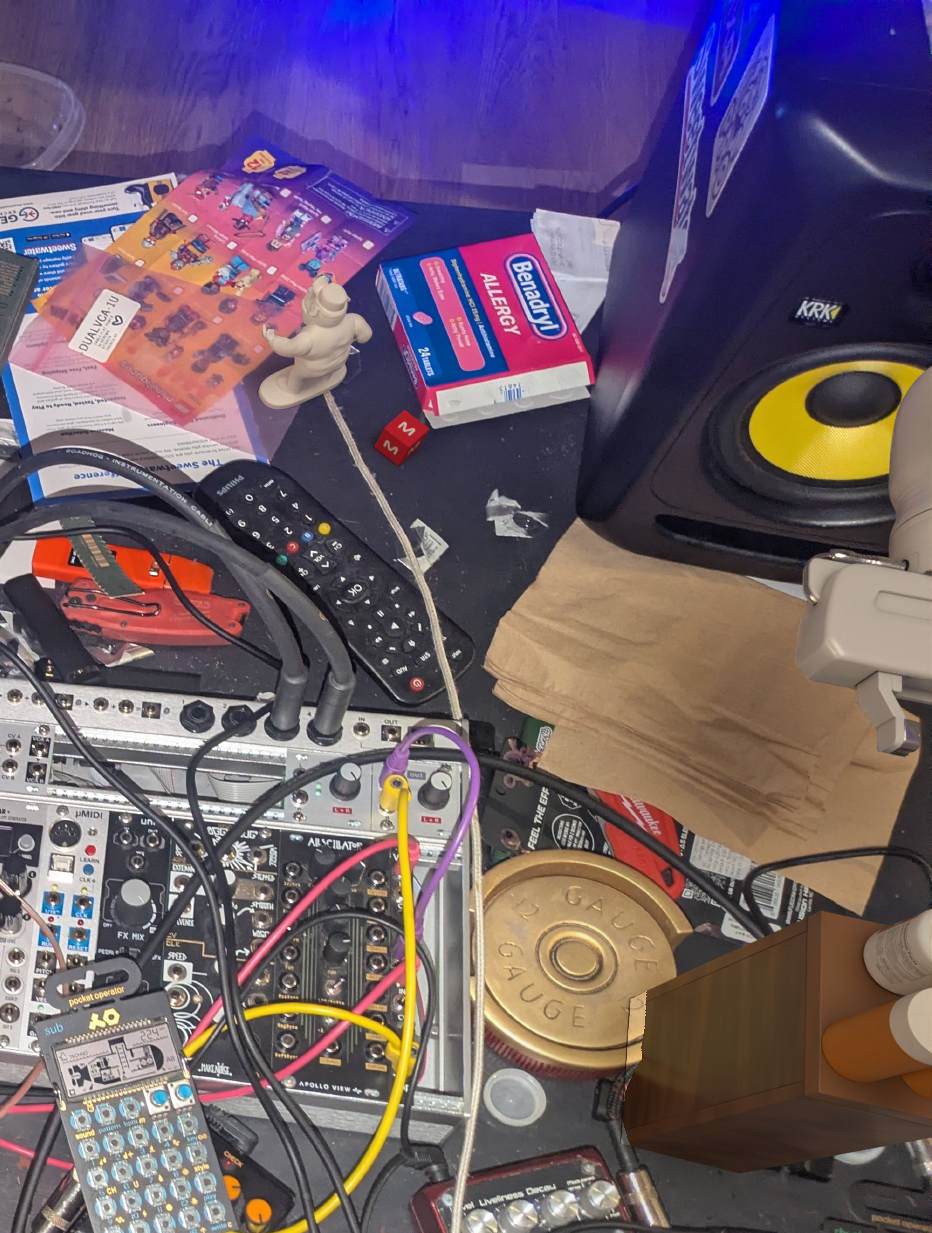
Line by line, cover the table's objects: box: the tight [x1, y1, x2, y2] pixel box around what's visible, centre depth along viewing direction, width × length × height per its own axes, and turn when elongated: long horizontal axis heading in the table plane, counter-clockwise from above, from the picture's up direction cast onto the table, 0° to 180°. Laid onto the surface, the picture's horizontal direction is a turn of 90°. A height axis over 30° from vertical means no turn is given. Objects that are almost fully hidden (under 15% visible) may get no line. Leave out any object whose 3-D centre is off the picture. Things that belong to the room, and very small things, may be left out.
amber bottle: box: [822, 988, 932, 1083], centre depth 80 cm, size 4×4×8 cm
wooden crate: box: [621, 916, 932, 1174], centre depth 97 cm, size 9×12×24 cm
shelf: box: [804, 910, 932, 1126], centre depth 85 cm, size 9×12×2 cm
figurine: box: [257, 274, 373, 411], centre depth 128 cm, size 9×7×12 cm
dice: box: [373, 409, 430, 467], centre depth 128 cm, size 3×3×3 cm
